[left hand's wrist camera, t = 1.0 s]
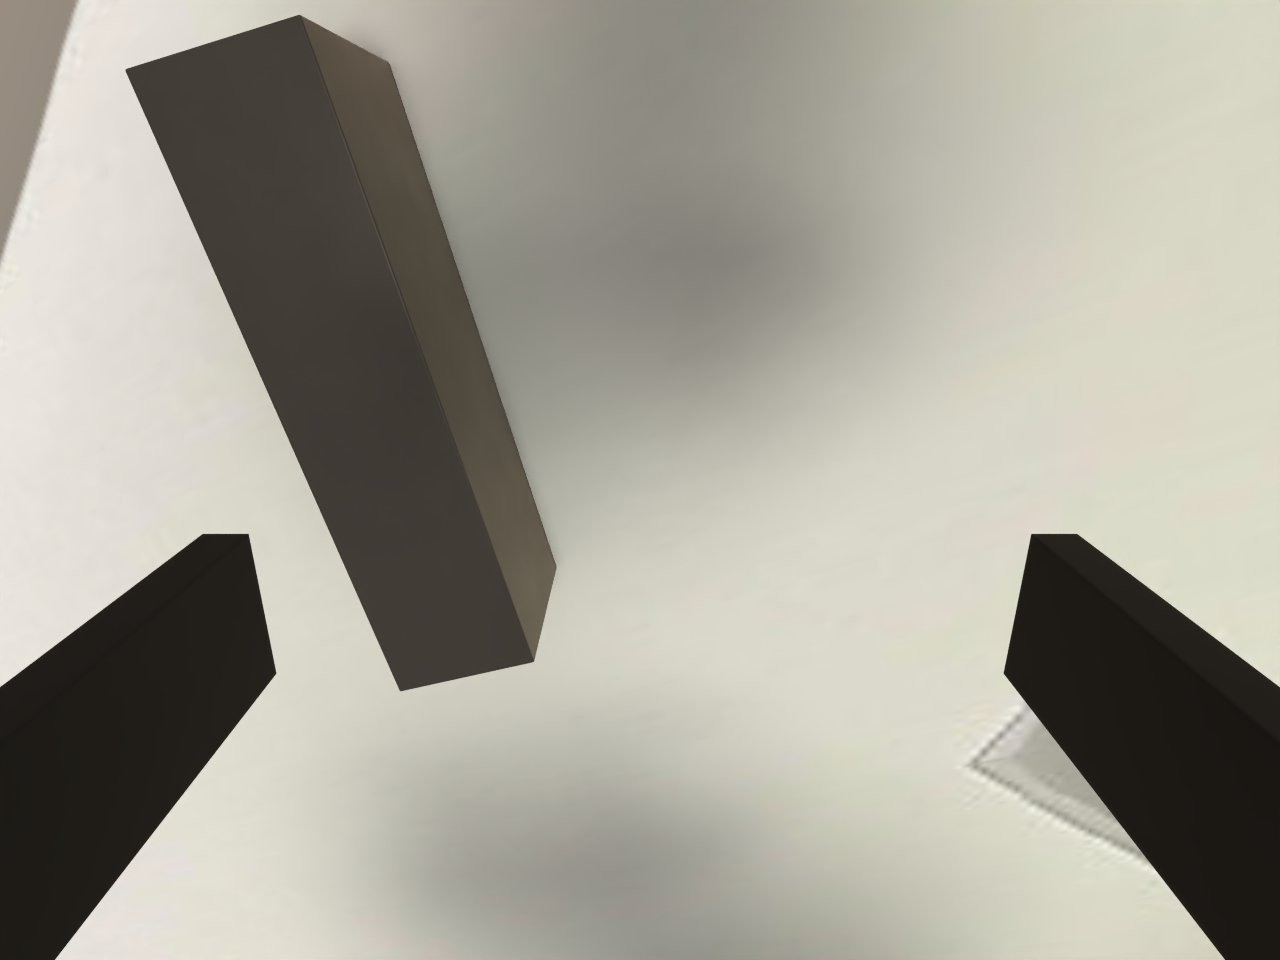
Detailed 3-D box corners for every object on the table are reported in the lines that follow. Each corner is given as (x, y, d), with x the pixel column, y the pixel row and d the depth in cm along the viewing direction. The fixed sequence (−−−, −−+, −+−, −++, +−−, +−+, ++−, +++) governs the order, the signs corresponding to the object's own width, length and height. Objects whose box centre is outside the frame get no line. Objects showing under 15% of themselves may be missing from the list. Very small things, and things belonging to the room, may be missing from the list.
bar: (256, 102, 32) (123, 69, 24) (388, 62, 31) (300, 13, 23) (449, 592, 40) (399, 692, 32) (556, 567, 39) (534, 662, 31)
